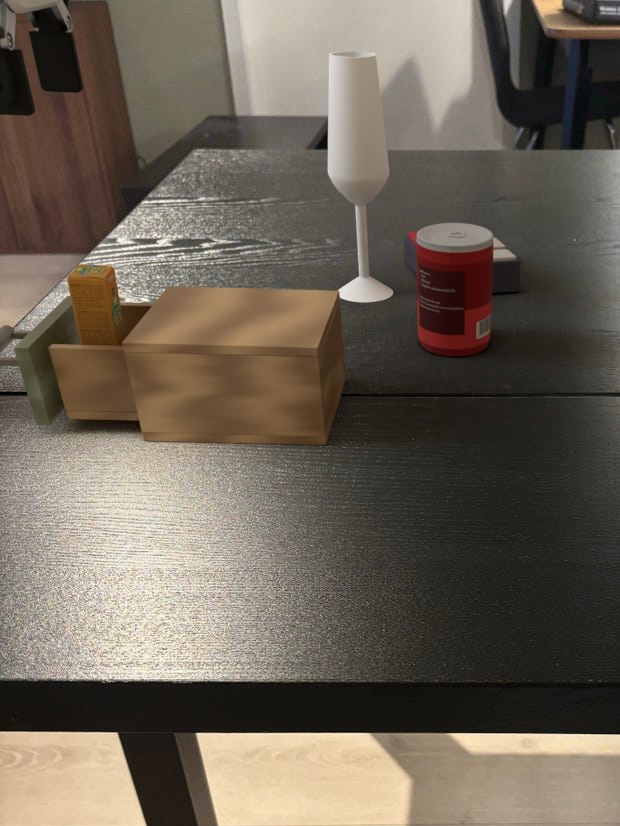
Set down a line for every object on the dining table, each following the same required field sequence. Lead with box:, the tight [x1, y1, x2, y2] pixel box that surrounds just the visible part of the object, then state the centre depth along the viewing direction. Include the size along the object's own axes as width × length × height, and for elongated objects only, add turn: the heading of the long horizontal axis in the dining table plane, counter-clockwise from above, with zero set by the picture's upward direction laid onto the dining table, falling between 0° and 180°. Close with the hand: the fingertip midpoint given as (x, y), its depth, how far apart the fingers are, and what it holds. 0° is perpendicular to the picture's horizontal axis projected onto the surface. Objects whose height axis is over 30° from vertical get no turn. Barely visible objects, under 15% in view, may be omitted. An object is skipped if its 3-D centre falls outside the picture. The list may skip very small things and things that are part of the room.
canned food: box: [416, 222, 494, 357], centre depth 95 cm, size 8×8×11 cm
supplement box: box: [66, 264, 126, 346], centre depth 81 cm, size 3×3×10 cm
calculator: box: [403, 231, 521, 294], centre depth 115 cm, size 11×4×15 cm
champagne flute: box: [327, 50, 394, 303], centre depth 103 cm, size 7×7×24 cm
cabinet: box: [122, 285, 347, 446], centre depth 83 cm, size 16×14×9 cm
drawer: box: [0, 295, 155, 426], centre depth 83 cm, size 20×12×7 cm, turn 89°
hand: (39, 102), depth 71 cm, fingers open, 9 cm apart
